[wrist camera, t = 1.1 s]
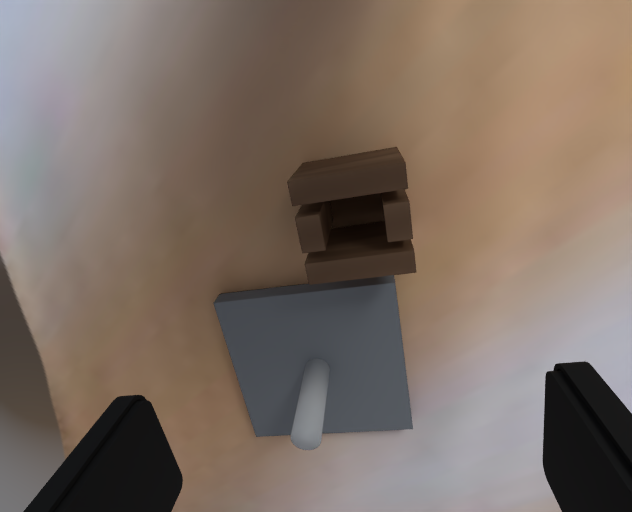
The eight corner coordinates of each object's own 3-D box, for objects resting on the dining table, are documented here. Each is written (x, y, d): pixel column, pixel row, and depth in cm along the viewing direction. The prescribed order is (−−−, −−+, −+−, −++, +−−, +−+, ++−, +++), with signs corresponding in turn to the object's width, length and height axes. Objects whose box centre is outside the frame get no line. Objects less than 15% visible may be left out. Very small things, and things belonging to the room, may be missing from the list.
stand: (219, 293, 32) (173, 359, 24) (393, 273, 30) (404, 339, 22) (260, 423, 37) (232, 512, 29) (411, 415, 35) (424, 510, 27)
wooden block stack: (302, 163, 27) (287, 182, 22) (396, 146, 26) (405, 162, 21) (319, 248, 29) (309, 285, 24) (406, 236, 28) (416, 272, 23)
